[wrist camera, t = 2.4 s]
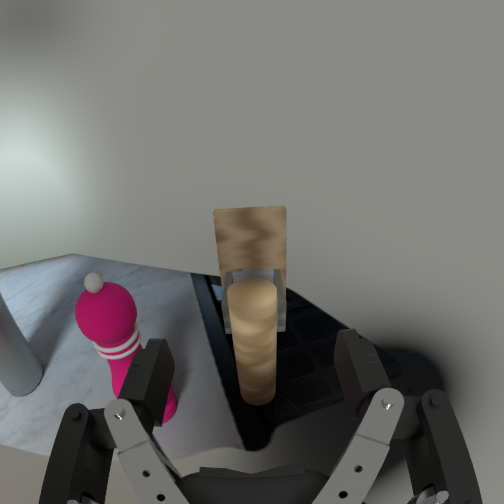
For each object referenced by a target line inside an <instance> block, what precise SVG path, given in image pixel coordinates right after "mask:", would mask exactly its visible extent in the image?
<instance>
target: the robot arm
mask: <svg viewBox="0 0 504 504" xmlns="http://www.w3.org/2000/svg"><path fill="white" fill-rule="evenodd" d="M334 363H335V367H336V370H337V374H338V377H339V381H340V384H341V388H342V391H343V395H344V398H345V402H346V405H347V409H348V413H349V417H350V420H353V419H358V422H359V426H358V428H357V429H356V431H355V433H354V435H353V437H352V439H351V441H350V442H349V444H348V446H347V448H346V449H345V451H344V453H343V455H342V456H341V458H340V460H339V461H338V463H337V464H336V466H335V467H334V469H333V471H332V472H331V474H330V475H329V476H327V475H325V474H323V473H321V472H318V471H314V470H308V469H305V465H304V464H303V465H296V466H285V467H277V468H273V469H270V470H266V471H263V472H259V473H255V474H248V473H243V472H239V471H234V470H230V469H226V468H206V467H200V472H197V473H193V474H189V475H187V476H185V477H182V476H181V475H180V473H179V472H178V471H177V469H176V468H175V467H174V466H173V464H172V463H171V462H170V460H169V459H168V457H167V456H166V454H165V452H164V451H163V449H162V448H161V446H160V444H159V443H158V441H157V439H156V438H155V436H154V434H153V433H152V432H153V427H154V426H159V427H162V423H163V418H164V413H165V409H166V404H167V400H168V395H169V391H170V387H171V382H172V378H173V374H174V360H173V357H172V355H171V352H170V349H169V347H168V344H167V341H166V340H165V339H149V340H148V342H147V345H146V348H145V349H139V350H138V352H137V353H136V354H135V355H134V356H133V358H132V361H131V363H130V366H129V369H128V373H127V374H126V376H125V379H124V382H123V385H122V387H121V390H120V393H119V396H118V398H117V399H115V400H113V401H111V402H110V403H108V404H107V406H106V407H105V408H101V409H92V410H88V409H87V408H86V407H85V406H84V405H83V404H80V403H75V404H72V405H70V406H69V407H68V408H67V409H66V410H65V413H64V415H63V418H62V421H61V424H60V427H59V430H58V432H57V436H56V439H55V442H54V445H53V448H52V451H51V455H50V458H49V462H48V466H47V470H46V474H45V477H44V482H43V485H42V490H41V495H40V499H39V504H104V503H105V496H106V490H107V484H108V477H109V472H110V466H111V461H112V456H113V451H114V448H118V450H119V453H118V454H117V455H118V458H119V461H120V463H121V465H122V467H123V469H124V471H125V473H126V475H127V477H128V479H129V481H130V483H131V484H132V486H133V488H134V490H135V492H136V493H137V495H138V496H139V498H140V500H141V502H142V504H366V503H365V502H363V500H364V498H365V496H366V494H367V493H368V491H369V489H370V487H371V485H372V483H373V482H374V480H375V478H376V476H377V474H378V472H379V470H380V468H381V466H382V464H383V462H384V459H385V457H386V455H387V453H388V450H389V447H390V446H389V442H390V440H391V438H401V441H402V445H403V449H404V453H405V457H406V461H407V465H408V470H409V474H410V479H411V484H412V489H413V494H414V497H412V498H411V499H410V500H409V502H408V503H407V504H482V499H481V494H480V490H479V486H478V482H477V478H476V475H475V471H474V468H473V464H472V461H471V458H470V455H469V452H468V449H467V446H466V443H465V440H464V437H463V435H462V432H461V429H460V427H459V424H458V422H457V419H456V416H455V414H454V411H453V409H452V407H451V404H450V402H449V399H448V397H447V396H446V394H445V393H444V392H442V391H440V390H437V389H432V390H429V391H427V392H426V393H424V395H423V396H422V397H412V396H403V395H402V394H401V393H400V392H399V391H397V390H395V389H393V388H392V386H391V384H390V382H389V380H388V377H387V375H386V373H385V370H384V368H383V366H382V363H381V362H380V359H379V357H378V355H377V352H376V350H375V348H374V346H373V344H372V343H371V342H370V341H369V340H367V339H366V338H362V339H359V336H358V334H357V332H356V330H355V329H347V330H340V331H338V335H337V340H336V345H335V350H334ZM42 374H43V367H42V364H41V362H40V361H39V359H38V358H37V356H36V355H35V353H34V352H33V350H32V349H31V347H30V345H29V344H28V342H27V341H26V339H25V337H24V336H23V334H22V332H21V331H20V329H19V327H18V326H17V324H16V322H15V320H14V318H13V317H12V315H11V313H10V311H9V309H8V307H7V305H6V303H5V301H4V299H3V297H2V295H1V293H0V382H1V383H2V384H3V386H4V387H5V388H6V389H7V390H8V391H9V392H10V393H11V394H12V395H14V396H24V395H27V394H28V393H30V392H31V391H33V390H34V389H35V388H36V387H37V385H38V384H39V382H40V380H41V378H42Z"/></svg>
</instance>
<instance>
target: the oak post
mask: <svg viewBox="0 0 504 504" xmlns="http://www.w3.org/2000/svg"><path fill="white" fill-rule="evenodd" d="M227 298H228V306H229V314H230V321H231V329H232V336H233V344H234V351H235V358H236V365H237V372H238V379H239V385H240V392H241V396H242V398H243V400H244V401H245V402H247V403H249V404H251V405H256V406H259V405H264V404H267V403H269V402H270V401H271V400H272V399H273V398H274V396H275V392H276V345H277V288H276V286H275V285H274V284H273V283H272V282H271V281H269V280H267V279H264V278H258V277H250V278H244V279H240V280H238V281H236V282H234V283H232V284H231V285H230V286H229V288H228V290H227Z"/></svg>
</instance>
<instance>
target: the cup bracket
mask: <svg viewBox="0 0 504 504" xmlns="http://www.w3.org/2000/svg"><path fill="white" fill-rule="evenodd" d="M213 216H214V225H215V234H216V243H217V252H218V260H219V268H220V276H221V284H222V291H223V298H222V311H223V318H224V325H225V331H226V334H232V329H231V321H230V314H229V306H228V298H227V290H228V288H229V286H230V285H231V284H232V283H234V282H236V281H238V280H240V279H244V278H250V277H258V278H264V279H267V280H269V281H271V282H272V283H273V284H274V285H275V286H276V288H277V332H281V331H285V326H286V298H285V297H286V208H285V206H269V207H249V208H233V209H232V208H231V209H216V210H214V212H213Z"/></svg>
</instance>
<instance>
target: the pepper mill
mask: <svg viewBox="0 0 504 504" xmlns="http://www.w3.org/2000/svg"><path fill="white" fill-rule="evenodd" d="M84 285H85V288H86V290H85V291H84V292H83V293H82V294H81V296H80V297H79V299H78V301H77V304H76V308H75V315H76V321H77V323H78V326H79V328H80V330H81V331H82V333H83V334H84V335H85V336H86V337H87V338H88V339H90V340H92V342H93V345H94V346H95V347H96V350H97V352H98V353H99V354H100V355H101V356H102V357H104V358H106V359H107V361H108V363H109V365H110V368H111V373H112V387H113V391H114V394H115V396H116V398H118V396H119V393H120V390H121V387H122V385H123V382H124V379H125V376H126V374H127V373H128V369H129V366H130V363H131V361H132V358H133V356H134V355H135V354H136V353H137V352H138V350H139V349H143V348H142V346H141V344H140V342H141V333H140V331H139V329H138V325H137V323H136V322H135V321H136V317H137V310H136V306H135V303H134V300H133V298H132V296H131V295H130V294H129V292H128V291H127V290H126V289H125V288H123V287H122V286H120V285H118V284H115V283H109V282H104V283H103V279H102V277H101V276H100V275H99V274H97V273H89V274H88V275H87V276H86V277H85V280H84ZM172 391H173V386H172V382H171V387H170V391H169V395H168V400H167V404H166V409H165V413H164V418H163V423H165V422H167V421H168V420H169V419H171V418H172V416H173V415H174V413H175V411H176V408H177V402H176V398H175V396H174V394H173V392H172ZM163 423H162V424H163Z"/></svg>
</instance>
